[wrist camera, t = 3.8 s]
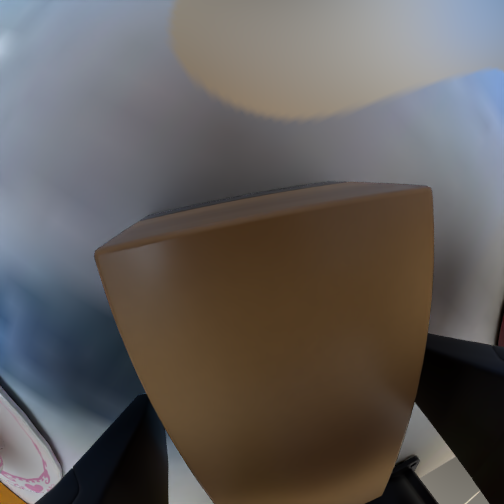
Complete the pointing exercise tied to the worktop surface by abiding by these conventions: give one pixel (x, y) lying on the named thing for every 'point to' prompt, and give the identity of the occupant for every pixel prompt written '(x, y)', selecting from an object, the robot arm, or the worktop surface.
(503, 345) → the kitchen canister
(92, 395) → the worktop surface
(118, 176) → the worktop surface
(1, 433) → the teacup
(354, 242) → the eraser
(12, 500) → the orange square block
